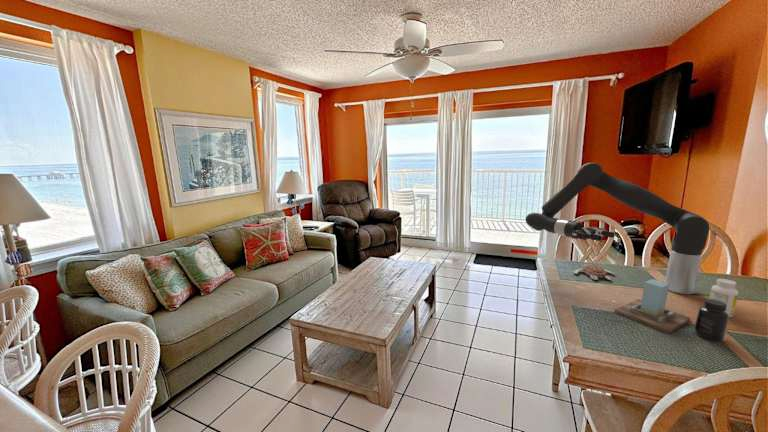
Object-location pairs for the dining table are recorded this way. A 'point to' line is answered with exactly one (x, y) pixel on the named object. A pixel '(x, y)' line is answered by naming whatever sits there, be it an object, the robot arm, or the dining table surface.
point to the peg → (654, 297)
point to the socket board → (653, 317)
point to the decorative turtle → (594, 271)
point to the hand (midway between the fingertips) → (607, 236)
